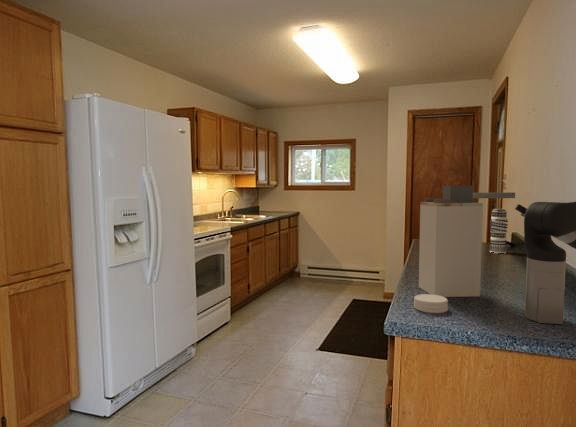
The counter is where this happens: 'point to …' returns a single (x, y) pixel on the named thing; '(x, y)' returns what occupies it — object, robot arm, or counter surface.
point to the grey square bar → (470, 194)
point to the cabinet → (450, 247)
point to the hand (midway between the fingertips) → (524, 207)
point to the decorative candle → (498, 231)
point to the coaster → (430, 303)
